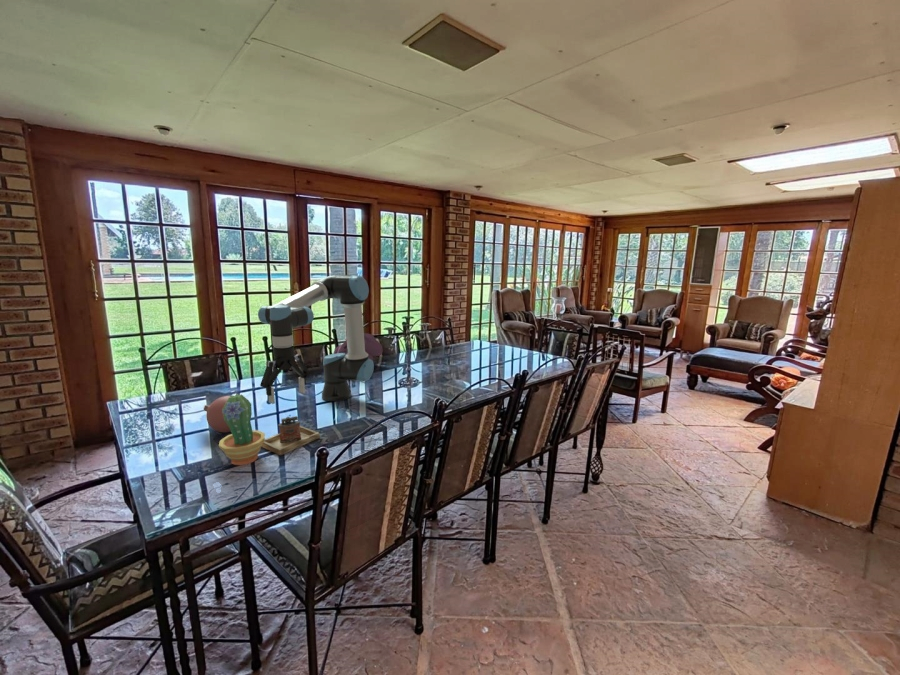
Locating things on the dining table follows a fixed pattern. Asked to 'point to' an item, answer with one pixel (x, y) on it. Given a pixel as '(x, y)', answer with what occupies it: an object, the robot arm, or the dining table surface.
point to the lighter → (289, 430)
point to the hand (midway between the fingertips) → (287, 397)
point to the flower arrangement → (370, 346)
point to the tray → (282, 448)
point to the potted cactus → (240, 432)
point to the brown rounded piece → (217, 415)
